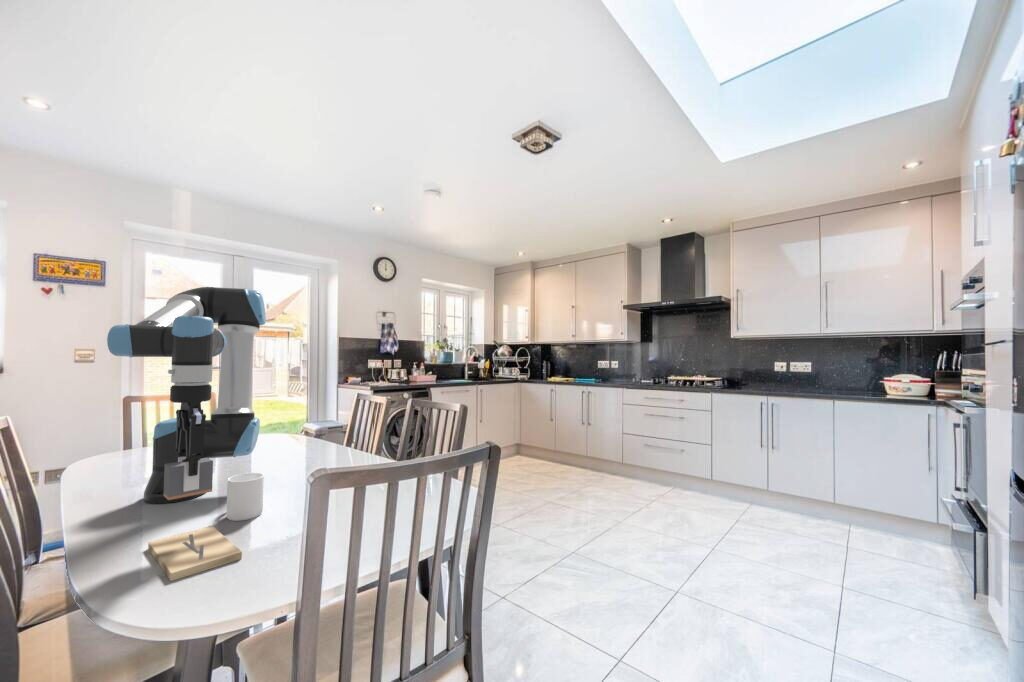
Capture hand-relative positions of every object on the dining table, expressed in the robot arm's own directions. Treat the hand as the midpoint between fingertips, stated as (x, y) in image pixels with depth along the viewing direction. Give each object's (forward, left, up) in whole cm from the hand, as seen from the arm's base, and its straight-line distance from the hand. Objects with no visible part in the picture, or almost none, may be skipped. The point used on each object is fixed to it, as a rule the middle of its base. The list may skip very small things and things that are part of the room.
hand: (187, 487), depth 97 cm
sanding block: (0, 0, -1) cm, 1 cm away
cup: (-12, +15, -13) cm, 23 cm away
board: (+6, 0, -13) cm, 14 cm away
